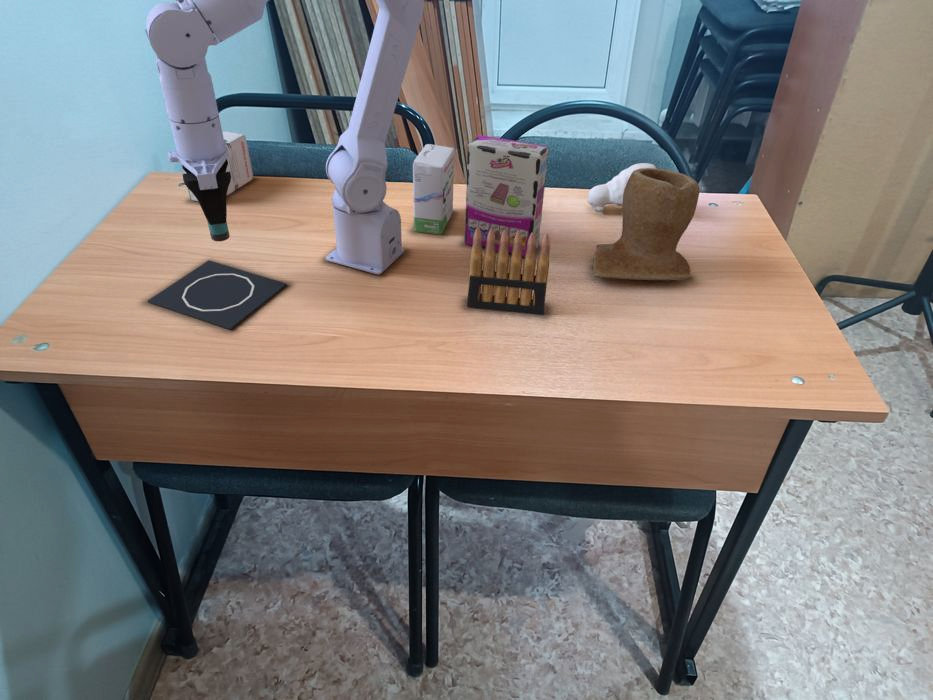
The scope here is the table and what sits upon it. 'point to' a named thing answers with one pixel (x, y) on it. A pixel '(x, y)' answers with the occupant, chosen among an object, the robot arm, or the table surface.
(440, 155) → the ink box
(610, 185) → the white rounded piece
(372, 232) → the robot arm
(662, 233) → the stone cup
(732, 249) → the table surface
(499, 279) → the ammunition clip
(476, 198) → the candy bar box
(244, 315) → the mat
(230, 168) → the ink box
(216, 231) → the marker
